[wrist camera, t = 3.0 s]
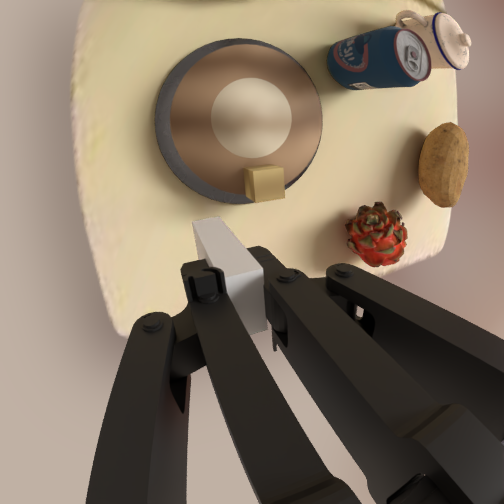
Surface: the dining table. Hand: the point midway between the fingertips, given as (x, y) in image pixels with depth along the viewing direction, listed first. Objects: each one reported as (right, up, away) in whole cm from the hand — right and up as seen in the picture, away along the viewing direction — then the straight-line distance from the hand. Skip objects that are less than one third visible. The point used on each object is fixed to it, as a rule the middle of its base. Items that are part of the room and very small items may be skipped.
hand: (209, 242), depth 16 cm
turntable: (+2, +14, +13) cm, 19 cm away
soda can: (+14, +23, +13) cm, 30 cm away
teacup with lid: (+26, +32, +14) cm, 43 cm away
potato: (+31, +15, +24) cm, 42 cm away
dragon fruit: (+19, +3, +24) cm, 31 cm away
